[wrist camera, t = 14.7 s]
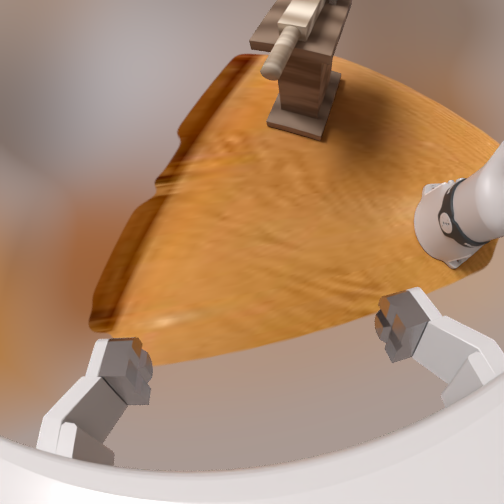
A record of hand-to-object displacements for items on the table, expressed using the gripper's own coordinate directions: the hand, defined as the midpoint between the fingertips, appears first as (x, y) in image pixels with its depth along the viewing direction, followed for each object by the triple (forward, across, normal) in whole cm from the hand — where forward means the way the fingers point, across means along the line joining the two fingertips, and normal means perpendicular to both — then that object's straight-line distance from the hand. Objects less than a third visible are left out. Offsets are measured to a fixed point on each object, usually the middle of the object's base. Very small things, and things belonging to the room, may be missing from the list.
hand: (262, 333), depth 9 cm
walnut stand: (+60, +19, +3) cm, 63 cm away
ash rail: (+38, +13, +17) cm, 43 cm away
